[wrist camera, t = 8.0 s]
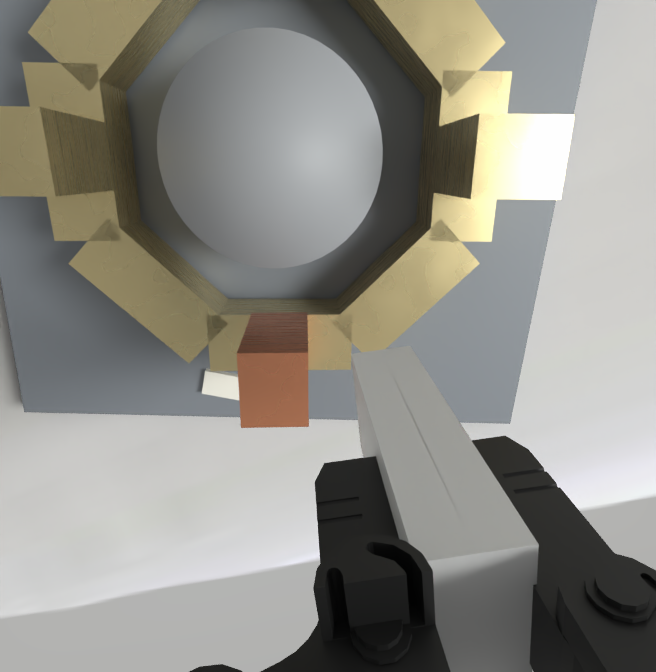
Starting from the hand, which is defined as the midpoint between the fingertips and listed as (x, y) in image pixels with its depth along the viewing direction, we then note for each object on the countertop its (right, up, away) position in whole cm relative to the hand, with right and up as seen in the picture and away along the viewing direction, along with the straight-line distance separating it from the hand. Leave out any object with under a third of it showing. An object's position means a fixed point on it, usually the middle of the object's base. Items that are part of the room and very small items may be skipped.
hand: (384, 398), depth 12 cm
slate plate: (-4, +9, +8) cm, 13 cm away
